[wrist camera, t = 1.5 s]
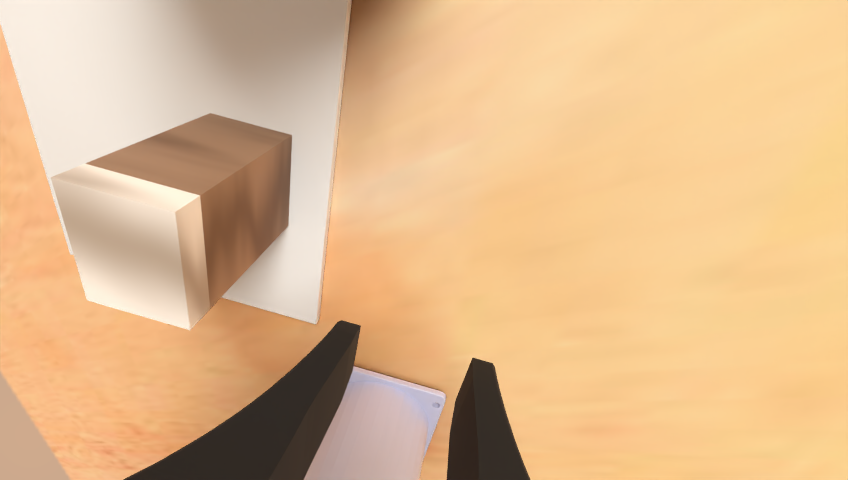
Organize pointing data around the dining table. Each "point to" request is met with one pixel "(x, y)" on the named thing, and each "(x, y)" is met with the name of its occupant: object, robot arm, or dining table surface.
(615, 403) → the dining table surface
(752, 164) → the dining table surface
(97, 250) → the walnut block
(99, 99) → the mat
